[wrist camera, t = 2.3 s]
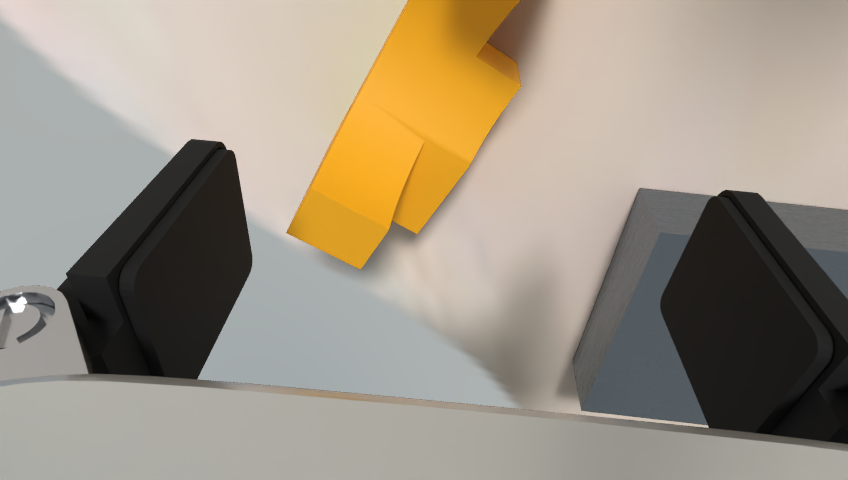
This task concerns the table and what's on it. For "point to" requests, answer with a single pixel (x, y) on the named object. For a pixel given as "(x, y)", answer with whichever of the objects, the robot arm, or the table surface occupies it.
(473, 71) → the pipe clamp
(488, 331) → the table surface
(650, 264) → the slate stand
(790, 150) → the table surface
